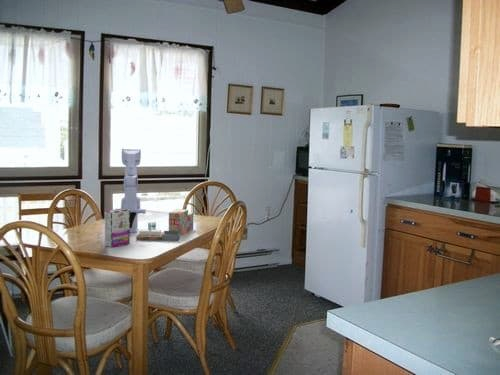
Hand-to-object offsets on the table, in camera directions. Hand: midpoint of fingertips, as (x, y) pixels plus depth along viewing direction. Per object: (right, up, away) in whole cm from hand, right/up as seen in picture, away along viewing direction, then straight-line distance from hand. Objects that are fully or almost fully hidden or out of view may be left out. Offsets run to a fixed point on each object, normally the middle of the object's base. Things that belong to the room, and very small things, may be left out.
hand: (130, 227), depth 234 cm
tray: (+20, -6, +2) cm, 21 cm away
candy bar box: (-2, -7, -15) cm, 17 cm away
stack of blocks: (+22, -4, +19) cm, 30 cm away
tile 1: (+7, -3, +1) cm, 8 cm away
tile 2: (+12, -3, +1) cm, 13 cm away
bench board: (+10, -5, +1) cm, 11 cm away
